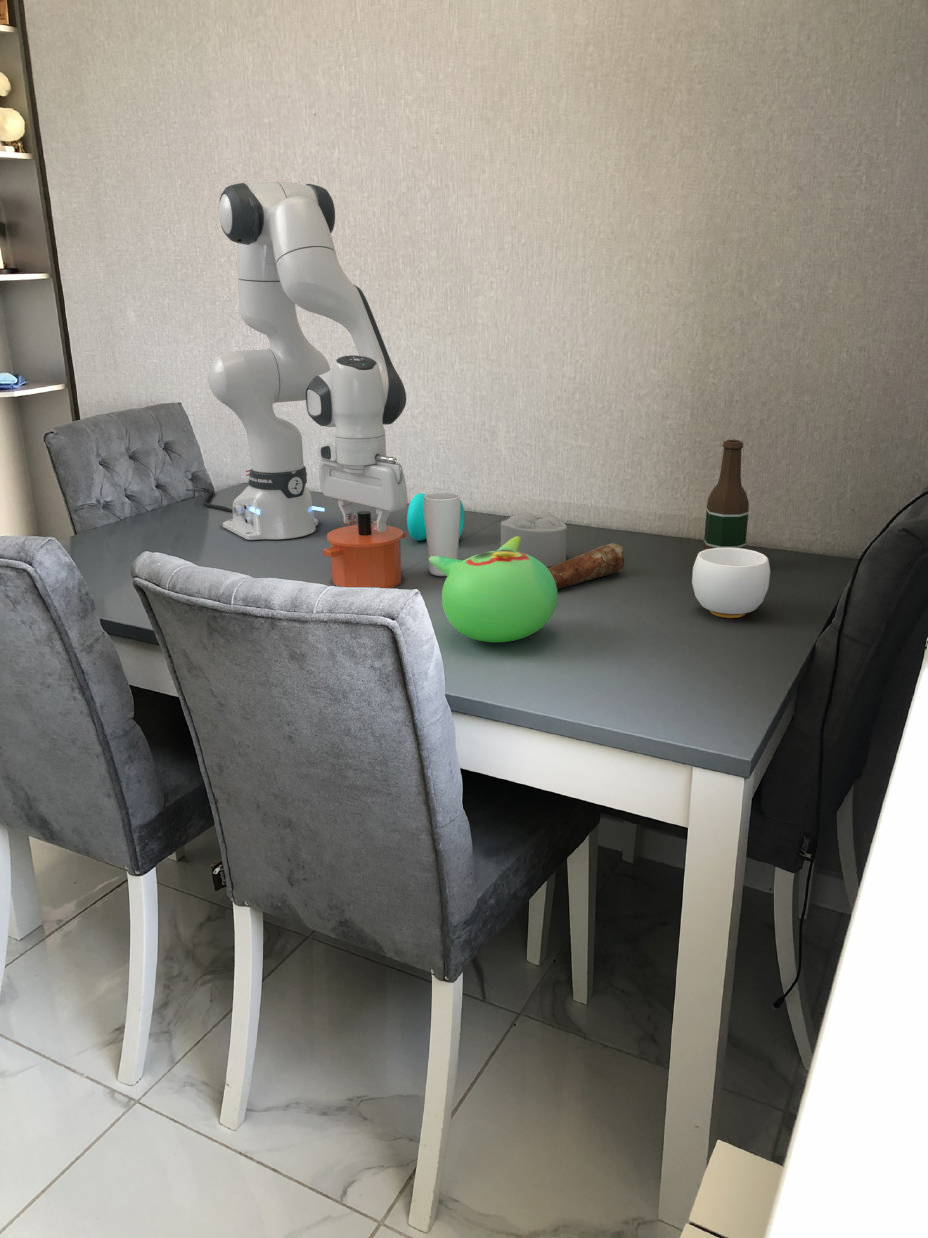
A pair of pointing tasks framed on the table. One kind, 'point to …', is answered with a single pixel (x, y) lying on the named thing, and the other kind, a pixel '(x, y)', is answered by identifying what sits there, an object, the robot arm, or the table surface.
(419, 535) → the donuts
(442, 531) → the drinking glass
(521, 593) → the toy bird
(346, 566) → the pot
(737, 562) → the cup
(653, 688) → the table surface
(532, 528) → the lumpy-topped squat cylinder
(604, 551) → the cassava root
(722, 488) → the beer bottle
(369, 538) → the lid
